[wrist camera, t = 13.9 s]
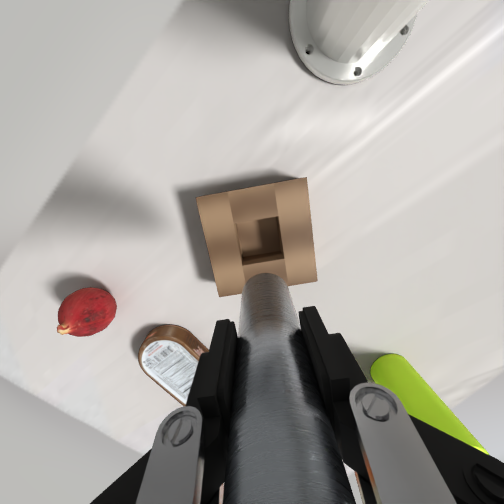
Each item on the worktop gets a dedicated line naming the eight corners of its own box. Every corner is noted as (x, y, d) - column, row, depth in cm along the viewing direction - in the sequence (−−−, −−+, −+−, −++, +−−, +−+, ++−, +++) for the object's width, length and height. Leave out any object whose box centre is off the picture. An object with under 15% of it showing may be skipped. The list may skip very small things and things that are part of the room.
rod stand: (202, 195, 29) (195, 197, 25) (299, 178, 28) (306, 177, 24) (222, 283, 32) (219, 297, 28) (309, 269, 32) (317, 281, 28)
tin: (171, 314, 33) (134, 343, 35) (162, 328, 30) (122, 359, 33) (240, 378, 37) (202, 401, 39) (238, 396, 34) (197, 420, 36)
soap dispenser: (403, 389, 38) (563, 604, 18) (364, 379, 37) (486, 591, 18) (421, 360, 36) (615, 562, 17) (380, 349, 35) (533, 546, 16)
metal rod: (238, 277, 15) (77, 1357, 1) (285, 269, 14) (698, 1439, 1) (246, 317, 15) (207, 1198, 2) (291, 311, 15) (550, 1217, 2)
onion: (120, 275, 32) (79, 305, 24) (132, 312, 33) (97, 351, 26) (79, 280, 32) (25, 311, 24) (93, 317, 34) (46, 357, 26)
